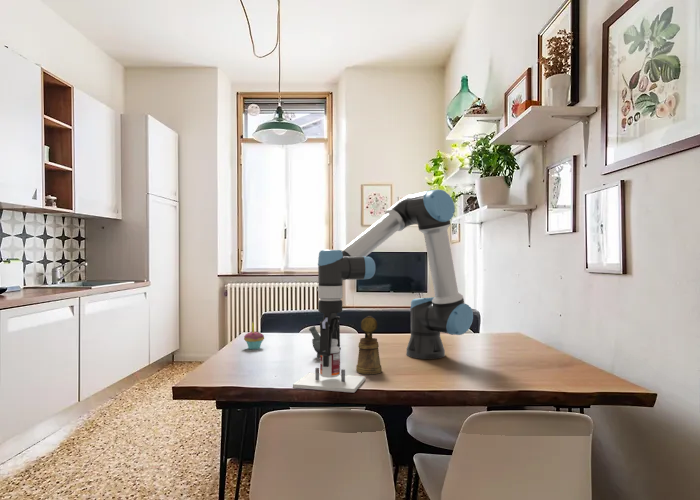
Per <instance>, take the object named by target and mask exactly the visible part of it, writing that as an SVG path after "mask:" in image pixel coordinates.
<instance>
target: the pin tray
mask: <svg viewBox="0 0 700 500" xmlns="http://www.w3.org/2000/svg"><path fill="white" fill-rule="evenodd" d="M365 381H366V376H364V375H360V376H359V375H348V374H346V369H344V368H343V369H340V375H339V376H337V377H333V378H327V377H322V376H321V375H320V367H315V371H314V372H308V373H306V374H305V375H303V376H302V377H301V378H299V379H298V380H297V381H295V382H294V383H293V384H292V388H295V389H305V390H316V391H317V390H318V391H327V392H328V391H330V392H331V391H332V392H343V393H352V394H353V393H355V392H356V391H357V390H358V389H359V388H360V386H362V384H363V383H364V382H365ZM358 387H359V388H358Z"/></svg>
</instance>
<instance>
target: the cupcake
mask: <svg viewBox="0 0 700 500" xmlns="http://www.w3.org/2000/svg"><path fill="white" fill-rule="evenodd" d="M251 325H252V328H251V330H252V331H249V332H247V333H246V334H245V335H244V336H243V337H244V338H243V340H244V341H245V342H246V344H247V347H248V349H249V350H258V349H261V345H262V343H263V341H264V340H265V336H264V334H263V333H261V332H259V331H255V323H254V322H252V323H251Z"/></svg>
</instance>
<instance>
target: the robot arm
mask: <svg viewBox="0 0 700 500" xmlns="http://www.w3.org/2000/svg"><path fill="white" fill-rule="evenodd" d="M455 210H456V208H455V202H454V199H453V198H452V197H451V196H450V193H447V192H446V191H445V190H442V189H430V190H425V191H421V192H414V193H411V194H410V193H409V194H408V195H406V196H404V197H403V198H401V199H400V200H398V201H397V202H396V203H394V204H393V205H392V206H391V207H389V208H387V210H385V212H384V215H383V216H382V217H381V218H380V219H378V220H377V221H375V222H374V223H373V224H372V225H371V226H369V227H368V228H367V229H366V230H365V231H363V232H362V233H361V234H359V235H358V236H357V237H355V239H353V240H352V241H351V242H349V243H348V244H347V245H346V246H344V247H343V248H342V249H322V250H319V253H318V258H317V259H318V262H317V267H318V268H317V269H318V270H317V272H318V274H317V277H318V279H317V280H318V283H317V284H318V288H317V289H316V291H317V292H318V293H317V294H318V296H317V297H318V299H319V300H318V303H317V305H318V308H317V309H318V310H317V311H318V312H319V313H322V314H323V318H322V319H321V320H322V321H320V322H319V330H320V331H319V335H320V353H319V355H320V356H322V377H329V378H331V377H332V355H330V353H331V342H332V339H337V340H338V344H337V346H338V347H339V348H340V351H341V350H342V349H341V348H342V347H341V334H340V333H341V330H340V329H341V326H340V324H341V323H340V322H341V316H338V314H339V313H342V311H343V300H341V299H343V296H344V295H343V294H344V293H343V281H346V280H349V281H350V280H356V281H357V280H361V281H362V280H363V281H364V280H369V279H372V278H374V275H375V273H376V262H375V260H374V259H373V258H372V257H371V256H368V255H370V254H371V253H372V252H373V251H375V250H376V249H377V248H378V247H379V246H381V245H382V244H383V243H384V242H386V241H387V240H388V239H389V238H390V237H392V236H393V235H394V234H395V233H397V232H402V231H403V230H404V229H406V228H407V227H410V226H413V225H417V226H418V231H420V232H421V234H423V236H424V242H425V248H426V253H427V258H428V264H429V265H428V266H429V269H430V275H431V280H432V287H433V291H434V297H432V296H431V297H422V298H421V297H419V298H414V299H412V300H411V302H410V308H409V309H410V337H409V340H408V342H407V343H408V344H407V346H406V356H407V357H410V358H412V359H420V360H436V359H437V360H439V359H441V358H445V356H446V355H445V353H446V351H445V347H444V344H443V341H442V337H441V333H443V334H448V335H452V336H455V335H456V336H462V335H464V334H466V333H467V332H468V331H469V330H470V328H471V326H472V323H473V321H474V312H473V309H472V307H471V306H470V305H469V304H467V303H465V299H464V295H463V294H461V293H459V289H458V285H457V284H458V283H457V277H456V272H455V267H454V261H453V255H452V248H451V244H450V239H449V231H448V229H449V228H450V226H451V220H452V218H453V216H454V214H455V212H456V211H455Z"/></svg>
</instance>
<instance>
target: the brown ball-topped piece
mask: <svg viewBox="0 0 700 500" xmlns="http://www.w3.org/2000/svg"><path fill="white" fill-rule="evenodd" d="M360 329H361V331H362V332H363V333H364V337H360V339H359V342H358V349H359V350H358V354H357V355H358V356H357V364H356V366H355V367H356V368H355V369H356V371H355V372H356V373H359V374H362V375H377V374H381V373H382V372H383V369H382V365H381V359H380V352H379V351H380V350H379V342H378V338H376V337H375V338H373V333H375V332H376V331H377V330H378V321H377V320H376V318H374V316H372V315H368V316H366V317H364V318H363V319H362V320H361V321H360Z"/></svg>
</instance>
